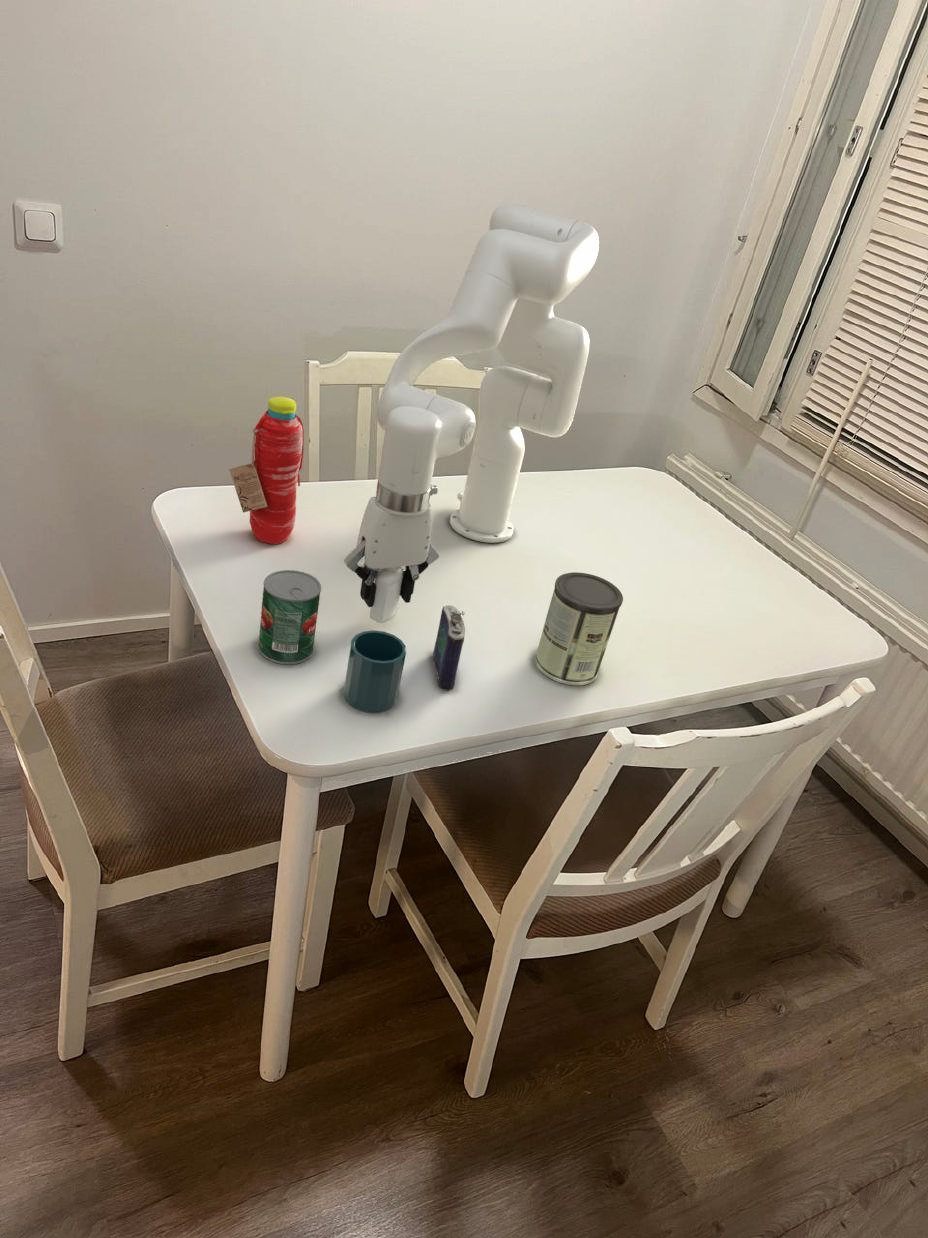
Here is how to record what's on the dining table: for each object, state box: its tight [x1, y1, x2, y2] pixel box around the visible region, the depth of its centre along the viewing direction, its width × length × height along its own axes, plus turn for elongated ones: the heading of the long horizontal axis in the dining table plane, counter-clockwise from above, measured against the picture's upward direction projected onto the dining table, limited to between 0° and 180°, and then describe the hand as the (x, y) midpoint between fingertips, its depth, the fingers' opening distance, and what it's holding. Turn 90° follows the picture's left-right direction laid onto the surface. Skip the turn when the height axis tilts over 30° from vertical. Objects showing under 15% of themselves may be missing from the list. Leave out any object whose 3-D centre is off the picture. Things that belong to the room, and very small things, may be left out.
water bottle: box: [228, 396, 305, 545], centre depth 148 cm, size 12×8×25 cm, turn 127°
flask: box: [432, 604, 466, 691], centre depth 129 cm, size 9×3×11 cm, turn 8°
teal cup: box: [343, 629, 407, 714], centre depth 122 cm, size 7×7×8 cm
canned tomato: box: [257, 569, 322, 665], centre depth 126 cm, size 8×8×11 cm
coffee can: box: [534, 571, 624, 686], centre depth 136 cm, size 10×10×14 cm
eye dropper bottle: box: [369, 567, 404, 624], centre depth 135 cm, size 4×6×12 cm
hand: (385, 598), depth 137 cm, fingers closed on eye dropper bottle, 5 cm apart
